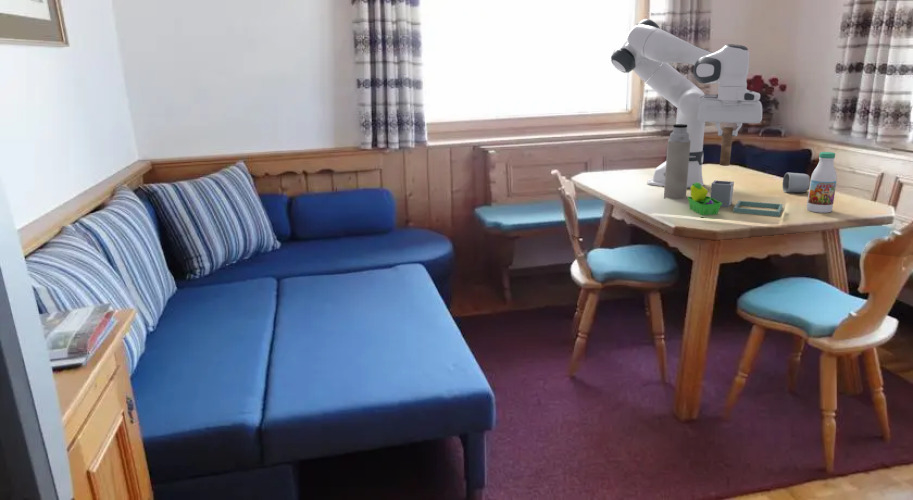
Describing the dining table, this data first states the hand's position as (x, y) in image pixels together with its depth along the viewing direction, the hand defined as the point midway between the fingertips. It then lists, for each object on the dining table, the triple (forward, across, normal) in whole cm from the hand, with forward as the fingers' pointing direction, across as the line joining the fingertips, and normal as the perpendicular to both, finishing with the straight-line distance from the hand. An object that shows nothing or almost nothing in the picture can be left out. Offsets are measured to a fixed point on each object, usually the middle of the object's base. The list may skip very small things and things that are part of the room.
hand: (727, 135), depth 217 cm
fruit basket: (+26, -4, -13) cm, 29 cm away
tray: (+25, +12, -4) cm, 29 cm away
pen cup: (+25, 0, 0) cm, 25 cm away
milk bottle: (+26, +31, +8) cm, 41 cm away
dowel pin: (+10, 0, 0) cm, 10 cm away
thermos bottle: (+26, -17, +8) cm, 32 cm away
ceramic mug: (+26, +21, +38) cm, 51 cm away
